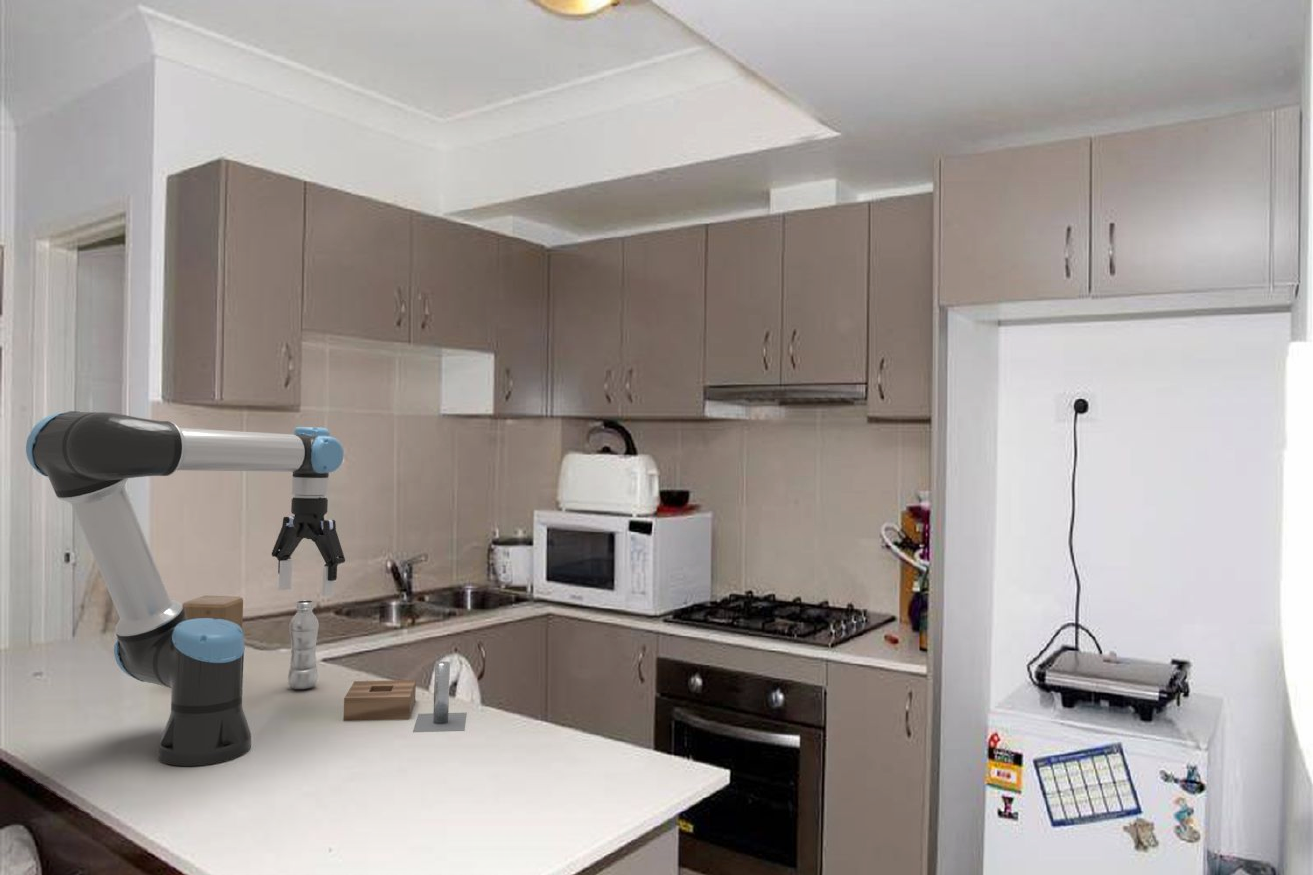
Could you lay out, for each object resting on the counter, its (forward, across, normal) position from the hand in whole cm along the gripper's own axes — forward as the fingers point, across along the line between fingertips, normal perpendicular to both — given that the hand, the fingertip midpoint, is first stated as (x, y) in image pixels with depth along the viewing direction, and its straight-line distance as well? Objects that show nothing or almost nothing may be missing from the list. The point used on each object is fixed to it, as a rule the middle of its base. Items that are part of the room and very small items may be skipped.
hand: (306, 592), depth 198 cm
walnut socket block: (+24, -21, -2) cm, 32 cm away
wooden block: (+24, +26, +4) cm, 35 cm away
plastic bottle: (+24, +7, -6) cm, 25 cm away
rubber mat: (+24, -37, -3) cm, 44 cm away
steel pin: (+23, -37, -3) cm, 44 cm away
